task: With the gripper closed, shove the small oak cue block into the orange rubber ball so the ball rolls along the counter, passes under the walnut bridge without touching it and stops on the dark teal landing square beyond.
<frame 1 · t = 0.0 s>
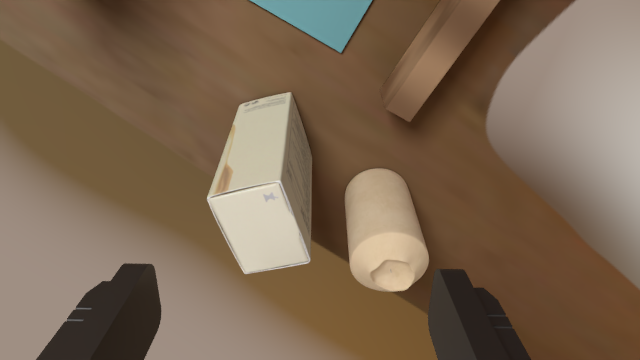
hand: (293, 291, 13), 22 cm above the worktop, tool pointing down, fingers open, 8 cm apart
stopper: (449, 11, 30), on the worktop
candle: (376, 193, 38), on the worktop
skincare box: (278, 132, 35), on the worktop
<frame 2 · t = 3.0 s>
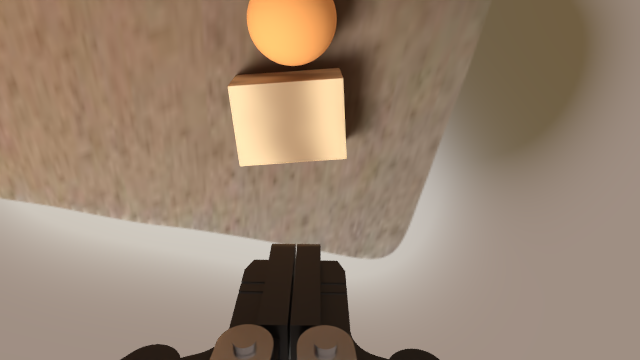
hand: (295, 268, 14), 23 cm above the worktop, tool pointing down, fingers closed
ball: (292, 19, 29), on the worktop
cue block: (291, 109, 35), on the worktop
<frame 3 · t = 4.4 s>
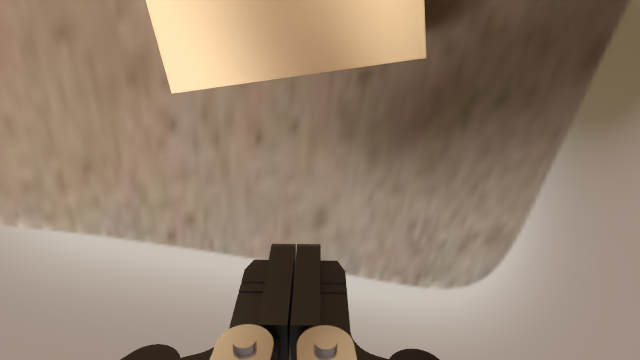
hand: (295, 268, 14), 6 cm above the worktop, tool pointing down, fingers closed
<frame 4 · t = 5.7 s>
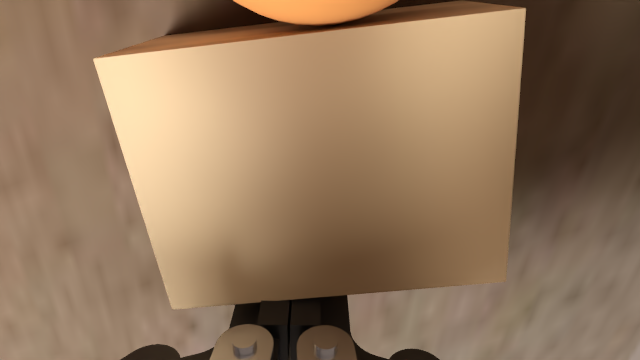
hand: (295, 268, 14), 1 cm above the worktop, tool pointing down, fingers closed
cue block: (322, 125, 13), on the worktop, touching gripper
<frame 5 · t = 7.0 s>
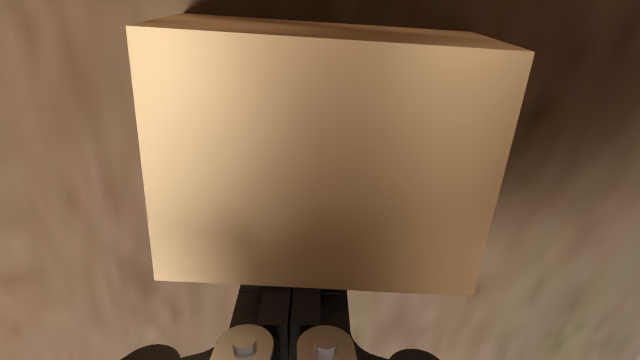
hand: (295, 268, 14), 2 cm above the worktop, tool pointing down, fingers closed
cue block: (322, 126, 13), on the worktop
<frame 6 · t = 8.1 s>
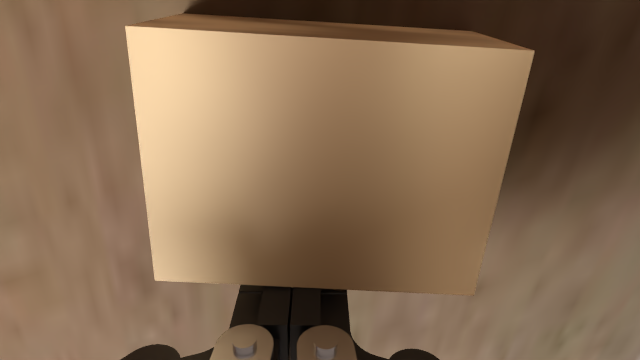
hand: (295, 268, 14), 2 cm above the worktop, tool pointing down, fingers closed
cue block: (322, 125, 13), on the worktop
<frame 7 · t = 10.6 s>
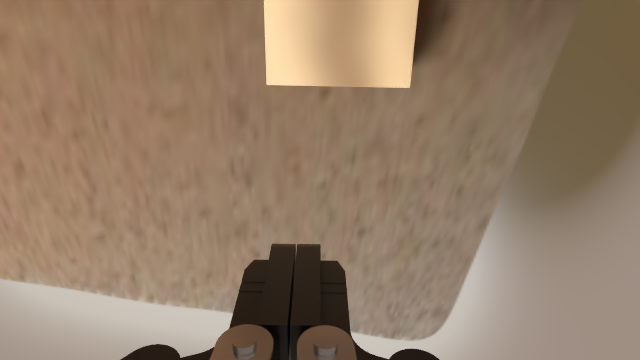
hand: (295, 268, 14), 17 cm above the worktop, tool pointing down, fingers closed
cue block: (338, 23, 27), on the worktop
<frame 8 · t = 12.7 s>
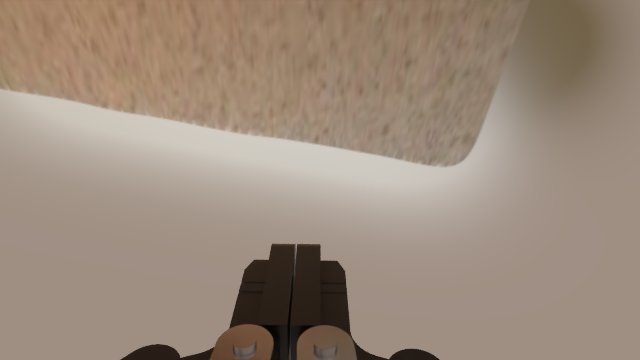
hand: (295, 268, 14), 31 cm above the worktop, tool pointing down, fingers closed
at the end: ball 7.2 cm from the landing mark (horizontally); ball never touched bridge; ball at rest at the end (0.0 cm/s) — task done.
